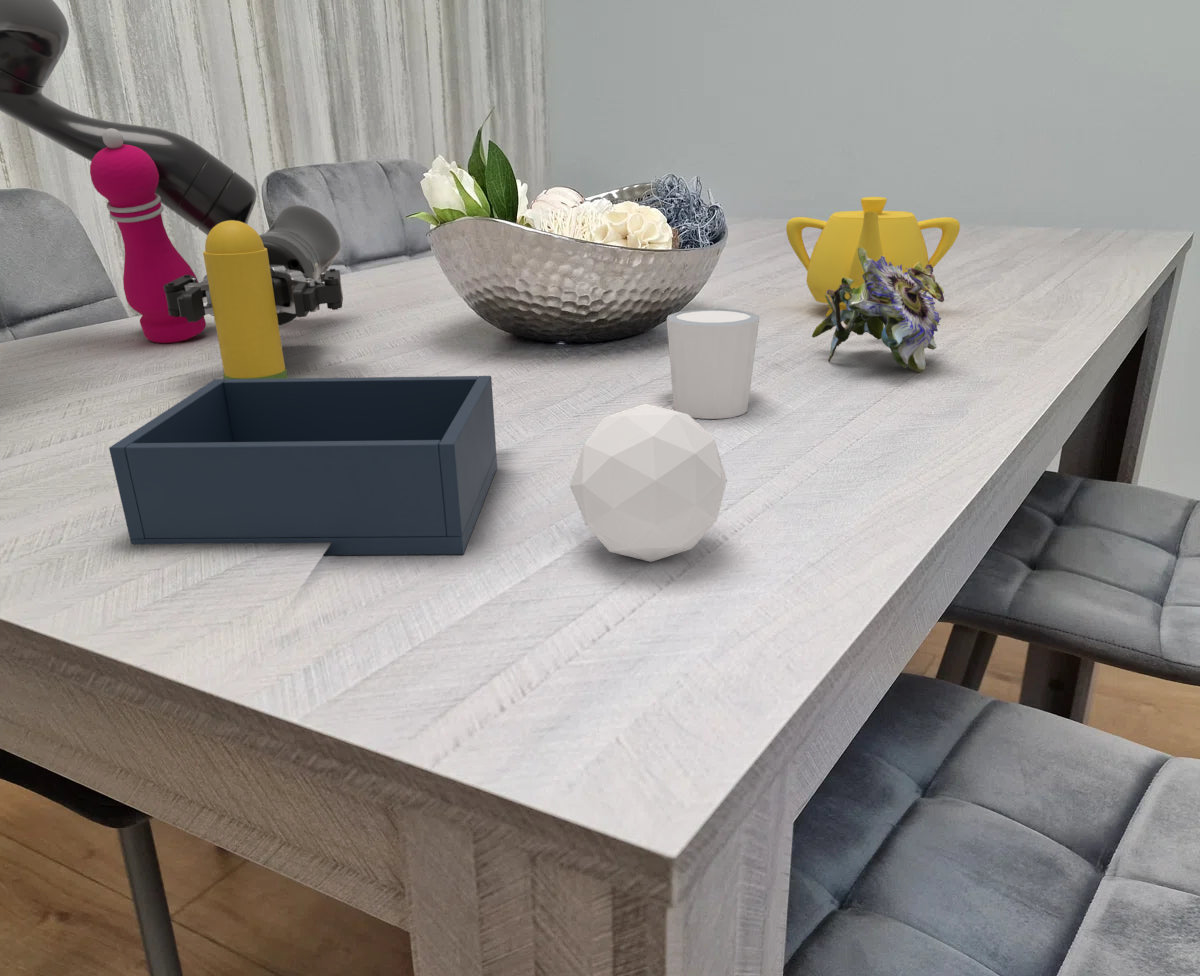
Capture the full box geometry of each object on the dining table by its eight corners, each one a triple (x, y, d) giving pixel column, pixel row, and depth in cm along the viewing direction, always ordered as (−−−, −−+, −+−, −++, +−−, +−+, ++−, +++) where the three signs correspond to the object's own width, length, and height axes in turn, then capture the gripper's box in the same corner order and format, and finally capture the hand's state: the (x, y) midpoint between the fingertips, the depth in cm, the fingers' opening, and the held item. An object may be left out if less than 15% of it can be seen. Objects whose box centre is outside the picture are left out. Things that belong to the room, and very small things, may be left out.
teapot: (770, 311, 116) (775, 198, 111) (862, 297, 123) (871, 190, 118) (861, 330, 106) (871, 205, 101) (956, 313, 113) (970, 196, 107)
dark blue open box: (133, 556, 55) (108, 447, 53) (230, 469, 68) (214, 379, 66) (463, 554, 54) (454, 443, 52) (497, 467, 68) (491, 375, 65)
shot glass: (679, 395, 83) (680, 305, 80) (764, 400, 81) (768, 309, 78) (654, 417, 78) (654, 322, 75) (745, 424, 75) (749, 326, 72)
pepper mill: (162, 352, 105) (91, 145, 92) (127, 333, 109) (54, 132, 96) (224, 327, 109) (164, 125, 96) (188, 310, 113) (126, 113, 100)
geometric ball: (666, 583, 57) (739, 456, 57) (682, 594, 49) (767, 446, 49) (545, 514, 57) (618, 386, 56) (543, 514, 49) (627, 364, 48)
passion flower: (907, 431, 92) (929, 336, 81) (789, 398, 95) (796, 303, 84) (944, 339, 96) (970, 238, 86) (830, 311, 99) (841, 209, 89)
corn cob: (218, 403, 84) (185, 224, 78) (239, 388, 89) (210, 217, 83) (279, 402, 84) (251, 223, 78) (297, 387, 88) (272, 216, 83)
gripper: (354, 314, 100) (340, 349, 86) (201, 321, 99) (161, 358, 84) (345, 232, 97) (328, 253, 82) (186, 238, 95) (141, 261, 81)
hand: (244, 306), depth 83 cm, fingers open, 8 cm apart
